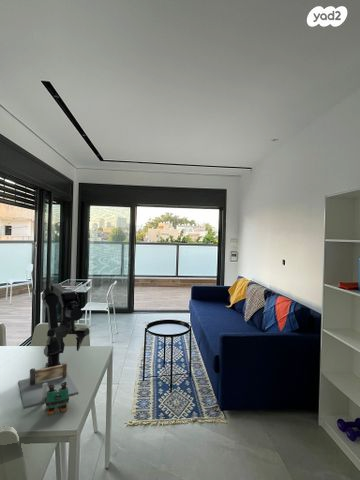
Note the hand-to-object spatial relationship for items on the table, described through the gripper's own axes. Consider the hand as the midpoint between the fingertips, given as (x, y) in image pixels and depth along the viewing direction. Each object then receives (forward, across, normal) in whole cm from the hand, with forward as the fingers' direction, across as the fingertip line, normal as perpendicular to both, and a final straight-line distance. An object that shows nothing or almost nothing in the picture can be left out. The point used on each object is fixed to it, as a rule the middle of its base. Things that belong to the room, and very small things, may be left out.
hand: (68, 350), depth 137 cm
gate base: (+14, -7, -7) cm, 17 cm away
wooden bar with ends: (+13, -9, -2) cm, 16 cm away
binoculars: (+16, +6, -20) cm, 26 cm away
